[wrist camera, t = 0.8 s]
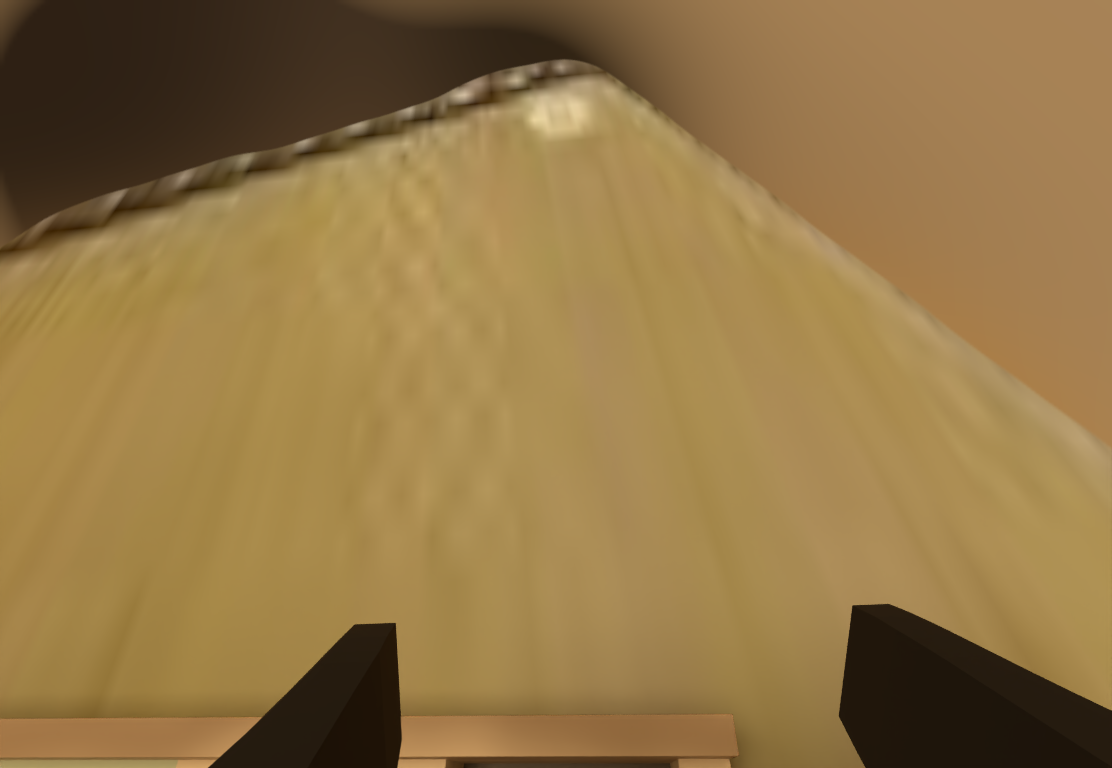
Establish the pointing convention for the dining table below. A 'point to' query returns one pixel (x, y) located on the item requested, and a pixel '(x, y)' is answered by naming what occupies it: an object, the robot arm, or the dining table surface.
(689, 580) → the dining table surface
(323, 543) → the dining table surface
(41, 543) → the dining table surface
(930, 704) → the robot arm
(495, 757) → the trap trough
